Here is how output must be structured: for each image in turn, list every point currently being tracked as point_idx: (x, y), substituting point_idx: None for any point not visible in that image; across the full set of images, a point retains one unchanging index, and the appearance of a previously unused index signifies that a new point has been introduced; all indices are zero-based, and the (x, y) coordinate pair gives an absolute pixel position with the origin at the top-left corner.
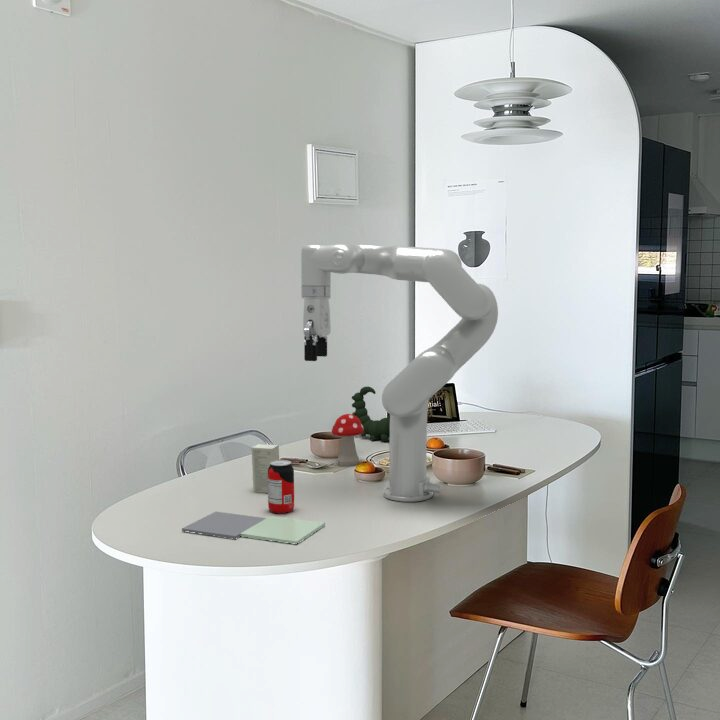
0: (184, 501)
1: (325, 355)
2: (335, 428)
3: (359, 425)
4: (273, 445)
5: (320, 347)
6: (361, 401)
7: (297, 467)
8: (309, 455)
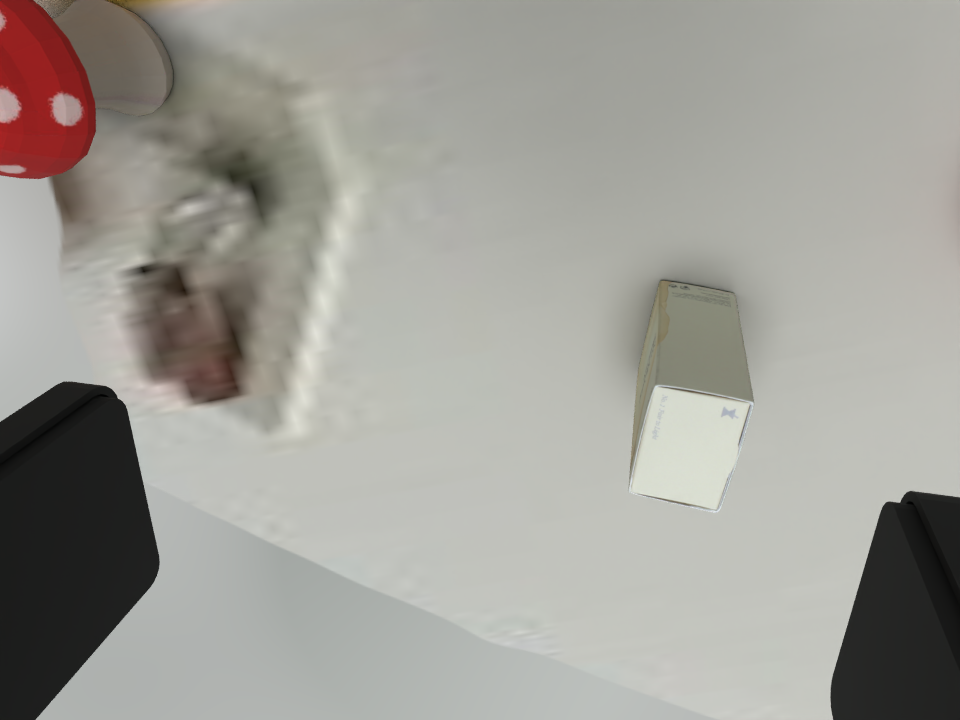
0: None
1: (115, 407)
2: (58, 149)
3: None
4: (667, 410)
5: (21, 610)
6: None
7: (269, 285)
8: (64, 276)
